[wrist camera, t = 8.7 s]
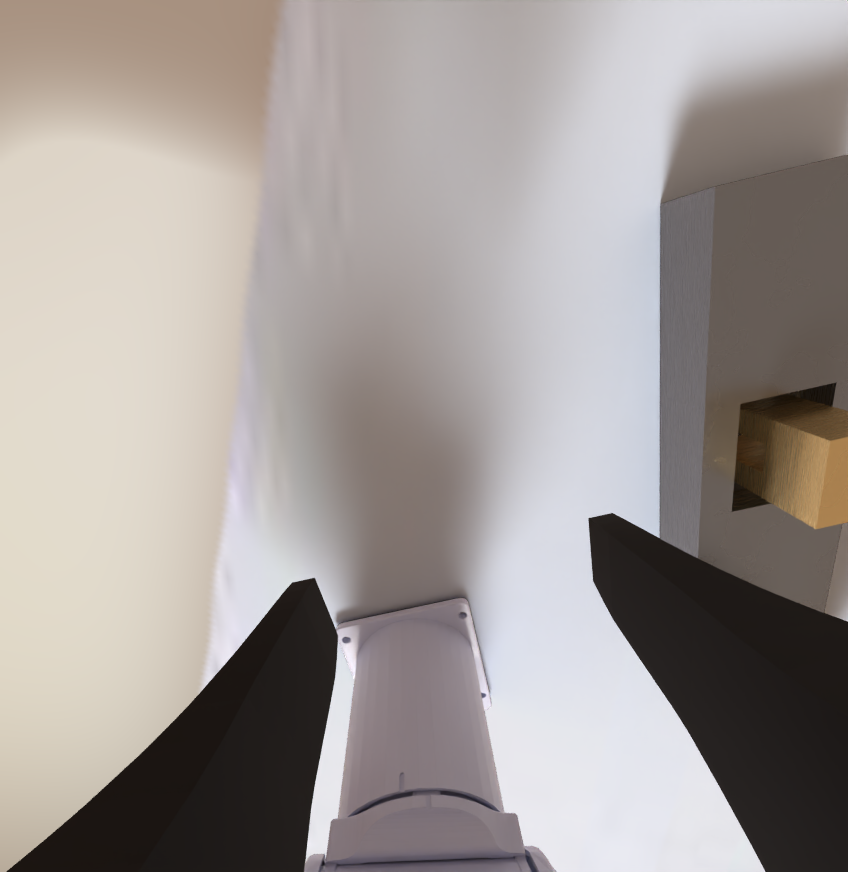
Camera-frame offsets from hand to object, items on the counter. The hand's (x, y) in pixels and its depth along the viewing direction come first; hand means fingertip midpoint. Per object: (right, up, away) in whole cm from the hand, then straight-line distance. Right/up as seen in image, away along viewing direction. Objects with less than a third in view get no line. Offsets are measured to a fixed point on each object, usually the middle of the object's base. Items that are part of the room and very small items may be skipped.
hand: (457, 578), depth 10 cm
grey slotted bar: (+15, +4, +10) cm, 18 cm away
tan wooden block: (+15, +4, +10) cm, 18 cm away
